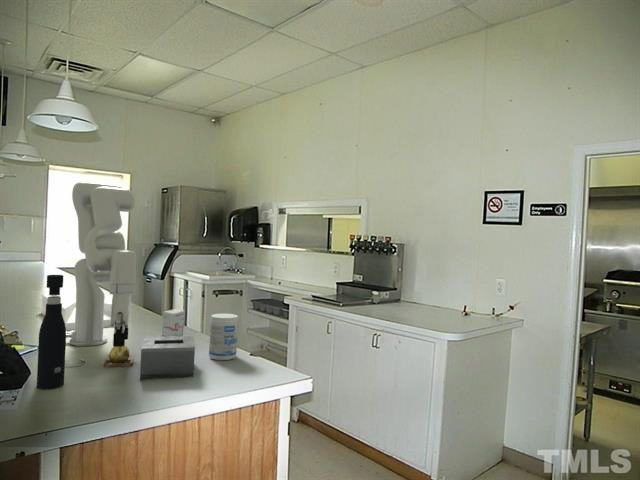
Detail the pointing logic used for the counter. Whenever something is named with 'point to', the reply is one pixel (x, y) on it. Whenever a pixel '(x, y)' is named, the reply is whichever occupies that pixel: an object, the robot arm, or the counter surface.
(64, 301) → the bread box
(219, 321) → the supplement tub
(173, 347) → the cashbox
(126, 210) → the robot arm
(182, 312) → the ink box
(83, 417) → the counter surface
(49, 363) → the black water bottle
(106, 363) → the cradle
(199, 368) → the counter surface
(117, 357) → the coin
